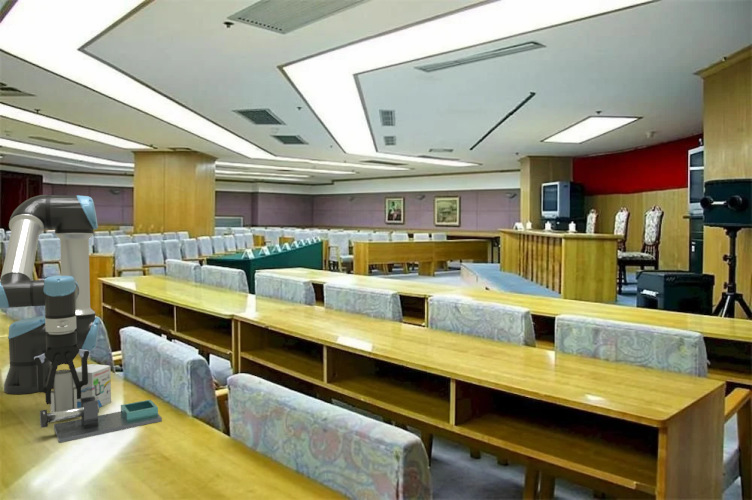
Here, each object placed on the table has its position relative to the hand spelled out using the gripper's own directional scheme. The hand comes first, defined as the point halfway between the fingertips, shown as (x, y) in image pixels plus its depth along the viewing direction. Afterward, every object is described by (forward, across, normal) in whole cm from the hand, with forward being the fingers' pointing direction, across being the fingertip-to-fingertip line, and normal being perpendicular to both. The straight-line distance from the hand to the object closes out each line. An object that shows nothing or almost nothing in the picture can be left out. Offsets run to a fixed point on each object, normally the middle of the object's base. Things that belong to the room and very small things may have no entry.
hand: (64, 412), depth 153 cm
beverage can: (+1, 0, 0) cm, 1 cm away
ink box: (+3, +8, +8) cm, 12 cm away
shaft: (-1, 0, -12) cm, 12 cm away
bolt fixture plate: (+2, +9, -12) cm, 15 cm away
